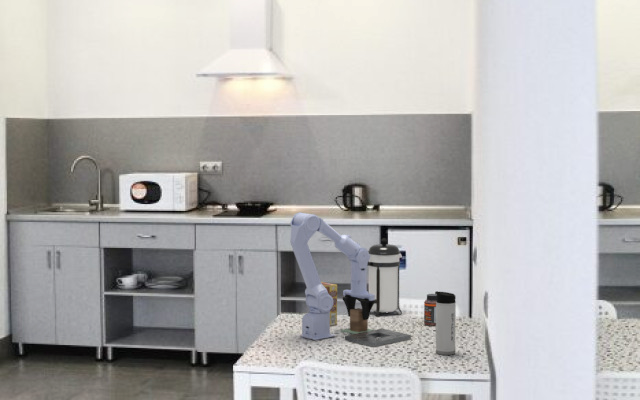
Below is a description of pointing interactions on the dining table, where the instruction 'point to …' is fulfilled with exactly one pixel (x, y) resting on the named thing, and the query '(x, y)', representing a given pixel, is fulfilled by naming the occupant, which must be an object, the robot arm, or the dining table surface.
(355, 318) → the plug
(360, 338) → the grey plate with hole
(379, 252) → the coffee press
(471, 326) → the dining table surface
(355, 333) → the pad
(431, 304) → the supplement bottle
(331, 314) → the candy box
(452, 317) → the travel mug
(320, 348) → the dining table surface
